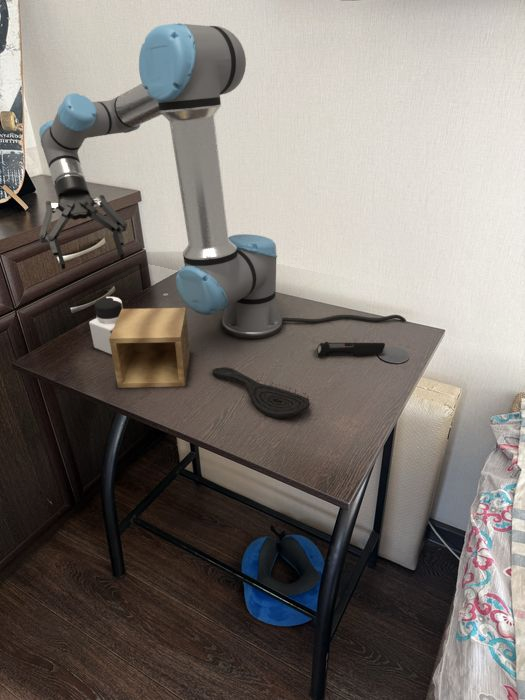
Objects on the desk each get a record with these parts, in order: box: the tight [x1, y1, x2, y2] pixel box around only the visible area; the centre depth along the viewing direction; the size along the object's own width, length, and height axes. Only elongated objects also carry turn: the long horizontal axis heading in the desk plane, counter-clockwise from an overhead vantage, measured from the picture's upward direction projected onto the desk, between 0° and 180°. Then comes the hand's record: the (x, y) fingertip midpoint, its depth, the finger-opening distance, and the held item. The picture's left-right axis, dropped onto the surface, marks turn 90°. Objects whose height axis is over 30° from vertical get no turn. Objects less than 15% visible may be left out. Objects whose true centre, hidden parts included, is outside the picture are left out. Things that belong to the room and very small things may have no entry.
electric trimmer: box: [315, 341, 386, 358], centre depth 116 cm, size 4×16×3 cm, turn 91°
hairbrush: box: [212, 366, 311, 419], centre depth 102 cm, size 8×4×25 cm
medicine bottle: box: [88, 296, 124, 355], centre depth 116 cm, size 7×7×12 cm
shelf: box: [109, 307, 191, 389], centre depth 107 cm, size 14×13×12 cm
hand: (93, 261), depth 118 cm, fingers open, 13 cm apart
